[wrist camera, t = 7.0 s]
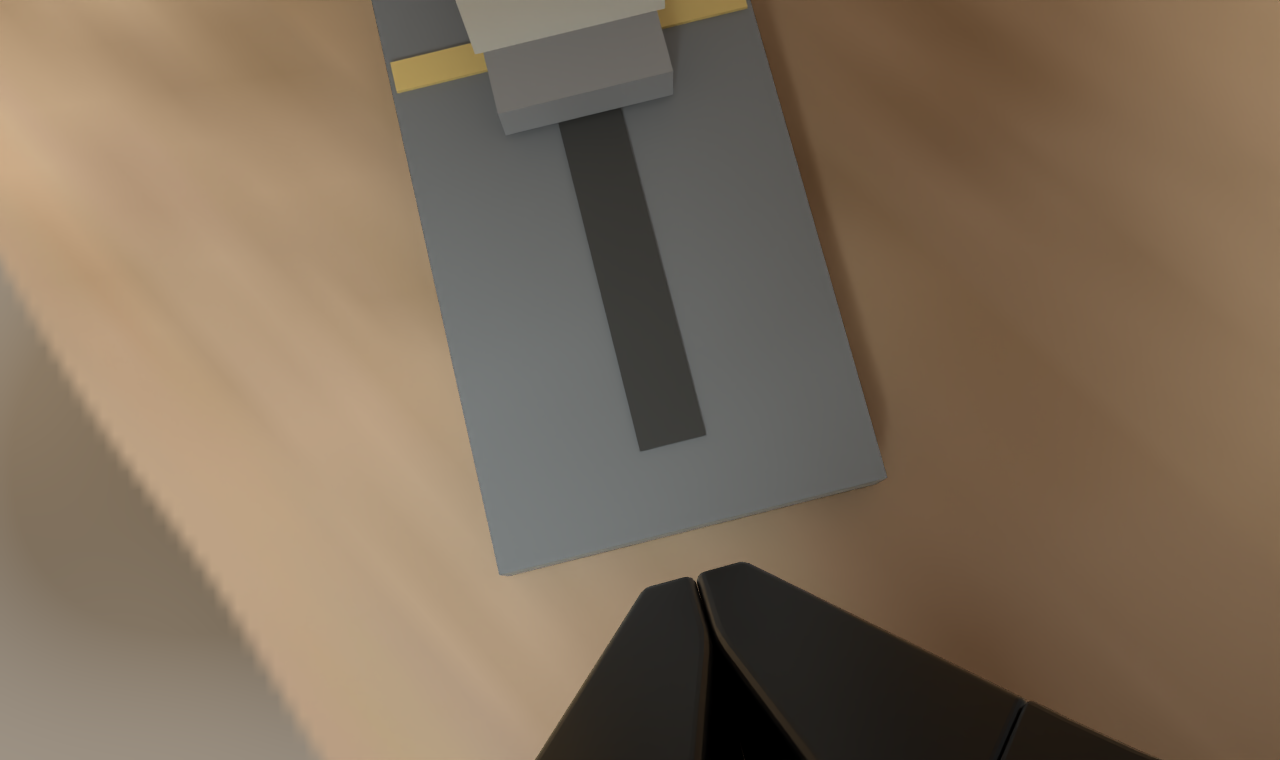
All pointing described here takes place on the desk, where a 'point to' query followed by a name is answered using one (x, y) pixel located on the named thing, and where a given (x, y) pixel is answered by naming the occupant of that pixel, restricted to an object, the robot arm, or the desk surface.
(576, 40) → the fader tab
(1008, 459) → the desk surface
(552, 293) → the console
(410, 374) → the desk surface
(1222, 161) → the desk surface
